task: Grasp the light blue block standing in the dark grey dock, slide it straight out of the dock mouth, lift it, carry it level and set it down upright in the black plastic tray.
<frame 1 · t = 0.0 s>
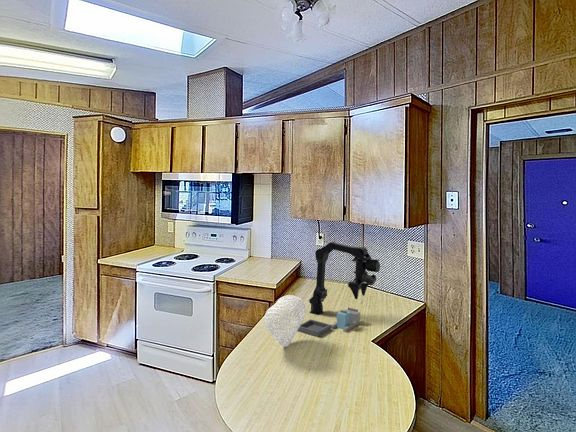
hand: (359, 297, 193), 15 cm above the table, fingers open, 9 cm apart
dock: (344, 326, 188), on the table
light blue block: (343, 327, 187), resting in dock
tray: (314, 330, 182), on the table
heart: (285, 346, 162), on the table
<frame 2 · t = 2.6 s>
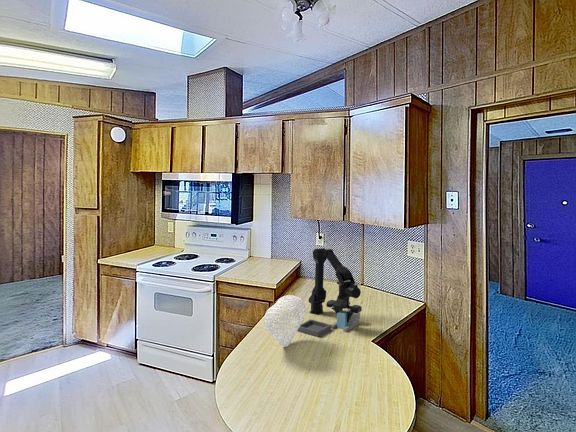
hand: (343, 321, 187), 3 cm above the table, fingers closed on light blue block, 5 cm apart
light blue block: (343, 326, 187), resting in dock, touching gripper
everything else where it was.
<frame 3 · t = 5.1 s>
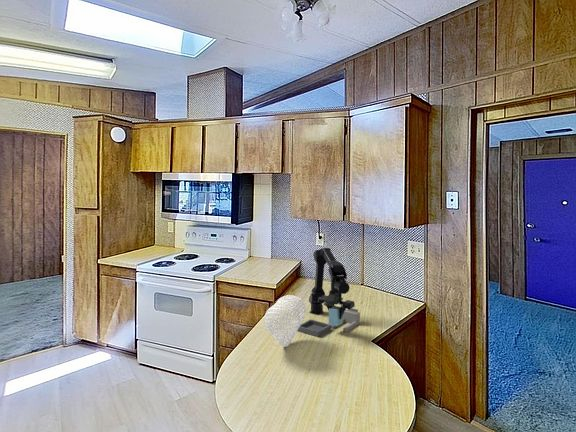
hand: (335, 318, 180), 7 cm above the table, fingers closed on light blue block, 5 cm apart
light blue block: (335, 323, 180), point 5 cm above the table, touching gripper
everything else where it was.
when the fingers open (5 cm above the table, at t = 7.9 s): light blue block drops 2 cm, resting on tray.
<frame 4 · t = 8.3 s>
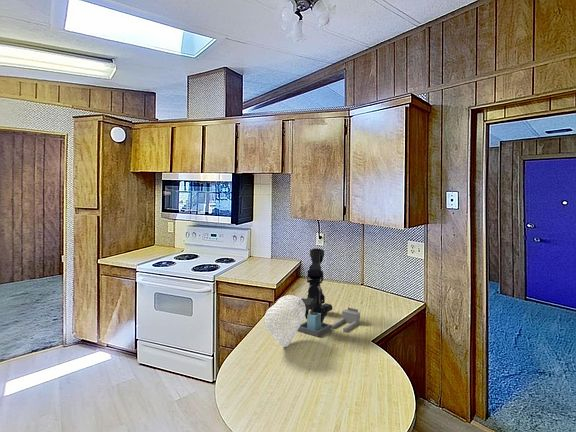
hand: (314, 320, 182), 5 cm above the table, fingers open, 9 cm apart
light blue block: (314, 329, 182), point 1 cm above the table, touching tray
everything else where it was.
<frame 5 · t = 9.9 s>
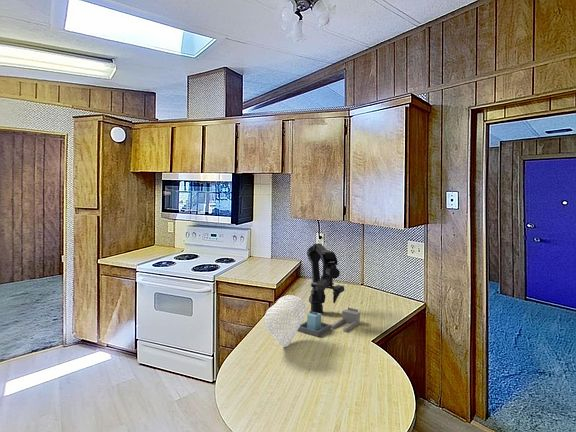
hand: (327, 301, 193), 12 cm above the table, fingers open, 9 cm apart
nothing on the table moved.
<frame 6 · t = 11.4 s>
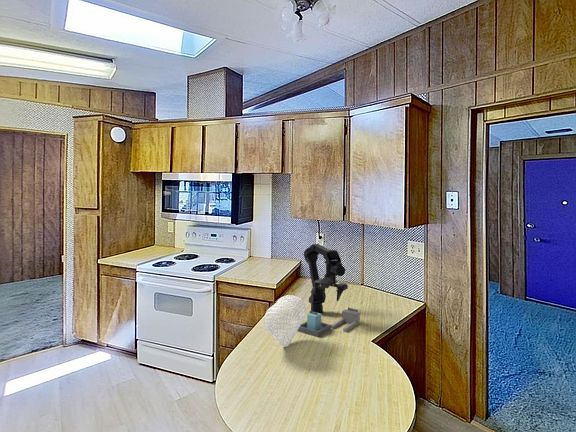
hand: (330, 299, 195), 13 cm above the table, fingers open, 9 cm apart
nothing on the table moved.
at the end: light blue block inside the target area on the tray (0.1 cm from its centre), point 0.6 cm above the tray's base; light blue block tilted 0°; the gripper is holding nothing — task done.
